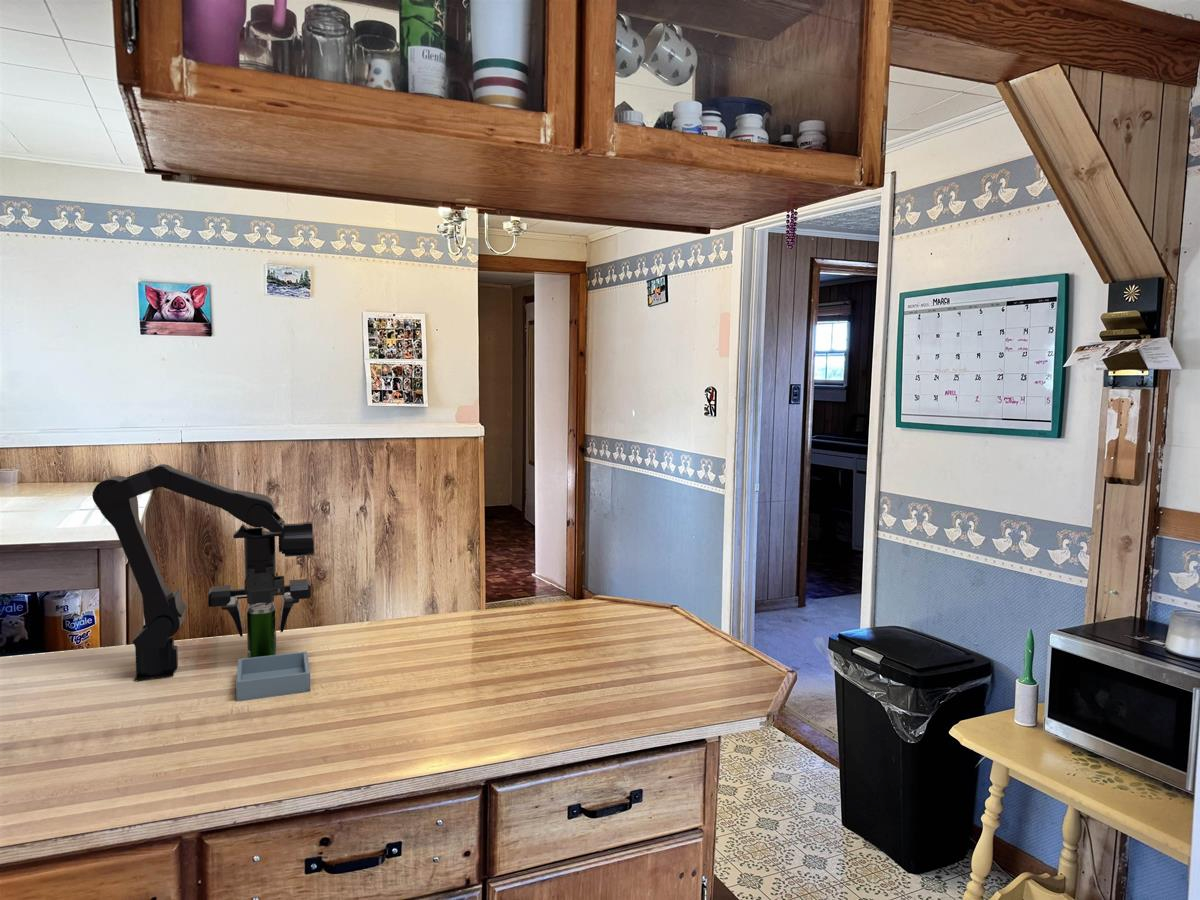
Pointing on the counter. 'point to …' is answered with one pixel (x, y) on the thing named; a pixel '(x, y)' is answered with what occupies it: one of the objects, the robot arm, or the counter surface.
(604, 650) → the counter surface
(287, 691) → the box
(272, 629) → the beer can
